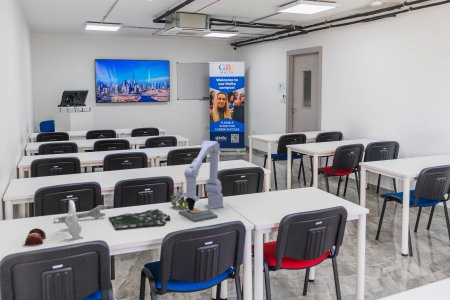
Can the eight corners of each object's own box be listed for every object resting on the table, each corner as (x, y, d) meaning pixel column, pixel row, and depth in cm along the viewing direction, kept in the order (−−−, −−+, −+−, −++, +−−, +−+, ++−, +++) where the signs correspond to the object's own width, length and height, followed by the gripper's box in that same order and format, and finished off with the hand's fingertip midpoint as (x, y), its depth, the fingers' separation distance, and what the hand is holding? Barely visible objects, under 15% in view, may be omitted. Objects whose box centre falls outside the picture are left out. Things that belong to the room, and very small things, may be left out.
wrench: (55, 227, 238) (107, 216, 247) (55, 228, 237) (107, 217, 245) (52, 214, 237) (105, 204, 246) (52, 215, 235) (105, 204, 244)
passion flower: (173, 216, 268) (167, 198, 273) (191, 211, 273) (184, 193, 277) (176, 210, 257) (169, 191, 262) (194, 205, 262) (187, 186, 266)
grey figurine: (65, 229, 227) (63, 197, 224) (78, 227, 230) (77, 196, 227) (68, 241, 209) (66, 207, 206) (83, 238, 212) (81, 205, 209)
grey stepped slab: (201, 209, 264) (200, 204, 263) (217, 217, 247) (217, 212, 247) (178, 213, 255) (178, 208, 255) (194, 222, 239) (194, 216, 238)
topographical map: (108, 219, 245) (108, 214, 244) (162, 212, 259) (162, 208, 258) (117, 233, 222) (116, 228, 221) (175, 225, 235) (175, 220, 235)
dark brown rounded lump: (23, 234, 201) (28, 226, 212) (23, 247, 201) (29, 238, 213) (41, 233, 203) (46, 226, 214) (42, 246, 203) (46, 237, 215)
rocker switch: (201, 209, 256) (202, 206, 256) (207, 211, 251) (207, 209, 251) (187, 210, 251) (187, 208, 251) (193, 213, 245) (193, 210, 245)
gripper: (179, 186, 250) (179, 208, 252) (191, 191, 238) (190, 213, 240) (189, 185, 254) (189, 206, 256) (201, 189, 242) (201, 212, 244)
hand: (190, 210), depth 248 cm, fingers closed, pressing on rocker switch
